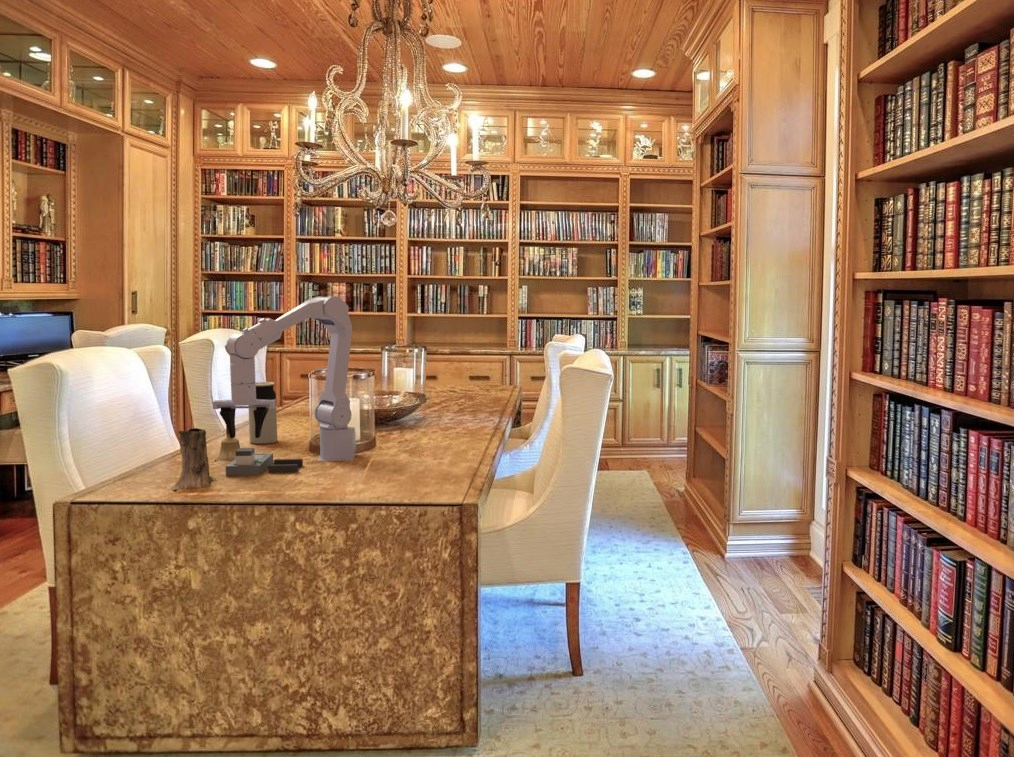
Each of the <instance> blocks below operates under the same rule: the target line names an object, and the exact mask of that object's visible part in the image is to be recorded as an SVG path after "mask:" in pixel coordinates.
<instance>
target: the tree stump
mask: <svg viewBox="0 0 1014 757" xmlns="http://www.w3.org/2000/svg"><path fill="white" fill-rule="evenodd" d="M178 434H179V447H180V448H179V452H180V454H181V462H182V463H181V474H180V476H179V478H178V480H177V481H176V482H175V484H174V485H172V487H171V490H172V491H175V490H176V491H178V490H181V489H199V488H204V487H210V486H211V484H212V482H218V480H217V478H215V477H214V476H213V477H212V476H210V466H209V463H210V462H209V458H208V451H207V450H208V449H207V430H206V429H202V428H197V427H196V428H195V427H194V428H191V429H189V430H179V431H178Z"/></svg>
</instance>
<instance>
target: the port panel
mask: <svg viewBox="0 0 1014 757" xmlns="http://www.w3.org/2000/svg"><path fill="white" fill-rule="evenodd" d="M254 456H255V465H236V459H234V460H231V462H229V463H227V465H225V476H226V477H250V476H251V477H252V476H255V477H258V476H261V475H262V474H263V473H264V472H265V471H266V470H268V465H273V464H274V453H273V452H271V453H270V452H269V453H268V452H267V453H265V452H263V453H260V452H259V453H254Z"/></svg>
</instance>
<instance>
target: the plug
mask: <svg viewBox="0 0 1014 757" xmlns="http://www.w3.org/2000/svg"><path fill="white" fill-rule="evenodd" d="M254 454H255V447H240V448H239V449H238V450H236V465H255V456H254Z"/></svg>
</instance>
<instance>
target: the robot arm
mask: <svg viewBox="0 0 1014 757" xmlns="http://www.w3.org/2000/svg"><path fill="white" fill-rule="evenodd" d="M349 309H350V308H349V305H348V304H347V303H346V302H345V300H344V299H342V298H341V297H339V296H336V295H335V296H318V295H317V296H314V297H312V298H310V299H306V300H305V301H304V302H302V303H301V304H299V305H297V306H295V307H294V308H293V309H291V310H290V311H288V312H286V313H284V314H282V315H281V316H279V317H278V318H276V319H272V318H260V319H259V320H258V323H257V324H255V325H253V326H251V327H249V328H246V327H244V329H242V333H235V334H232V335H231V336H229V338H228V339H227V340H226V344H225V345H224V349H225V351H226V353H227V354H228V355H229V369H230V370H229V371H230V372H229V373H230V392H231V399H221V400H219V399H217V400H213V401H212V410H219V409H220V411H219V415H220V417H221V418H222V420H223V421H224V423H225V427H226V426H227V428H228V431H229V435H230V438H236V409H249V408H256V410H254V411H253V413H254V419H255V438H259V437H260V436H261V429H262V425H263V422H264V419H265V417H266V414H267V412H268V408H269V409H273V408H275V400H262V399H256V382H257V380H256V364H255V363H256V360H255V356H257V355H258V353H259V351H260V350H262V349H263V348H265V347H267V346H269V345H270V344H272V343H274V342H276V341H278V340H279V339H281V337H282V333H283V332H284V331H286V330H287V329H290V328H291V327H294V326H295V325H298V324H299V323H301V322H303V321H305V320H307V319H314V320H315V321H318V322H319V323H321V324H322V325H324V327H326V329H327V330H328V331H329V332H330V342H329V349H328V357H327V367H326V368H327V369H326V378H325V384H324V385H325V386H324V391H323V392H322V393H321V394H320V396H319V397H318V402H317V405H316V406H315V409H314V418H315V419H316V420H317V422H318V426H319V448H320V449H319V451H320V452H319V453H320V454H319V457H318V458H317V460H316V461H317V462H324V461H326V462H327V461H328V462H332V461H333V462H334V461H336V462H337V461H338V462H339V461H340V462H341V461H353V460H354V459H355V457H356V456H357V448H356V446H357V445H356V444H357V442H356V441H357V440H356V439H357V438H356V428H355V427H352V426H348V425H349V424H350V422H351V420H352V418H353V417H352V416H353V414H352V410H351V400H350V398H349V396H348V394H347V392H346V388H347V380H348V372H349V363H350V355H351V354H350V353H351V347H352V346H351V345H352V338H353V335H352V334H353V325H352V322H351V319H350V315H349ZM248 405H251V406H248Z"/></svg>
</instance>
